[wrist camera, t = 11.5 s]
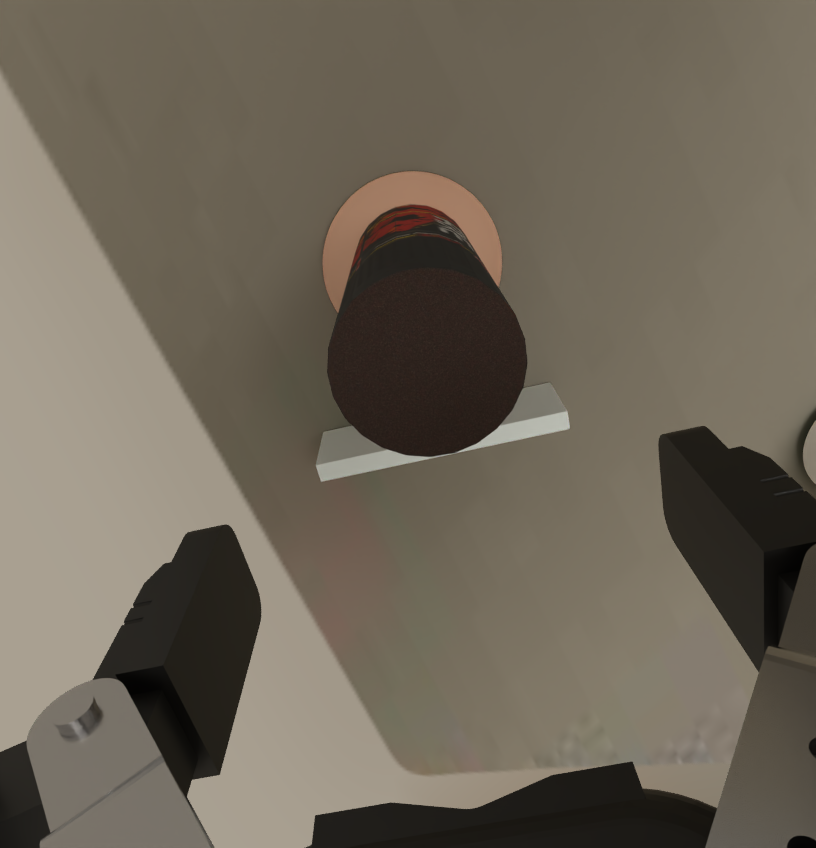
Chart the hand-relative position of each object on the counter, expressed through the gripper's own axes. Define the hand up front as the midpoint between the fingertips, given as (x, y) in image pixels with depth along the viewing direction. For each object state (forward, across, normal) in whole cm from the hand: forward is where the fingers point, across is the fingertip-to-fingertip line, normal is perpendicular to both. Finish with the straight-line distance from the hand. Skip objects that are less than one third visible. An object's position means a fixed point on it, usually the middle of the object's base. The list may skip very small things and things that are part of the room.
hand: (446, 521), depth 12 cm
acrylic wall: (+24, +1, +9) cm, 25 cm away
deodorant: (+23, 0, 0) cm, 23 cm away
